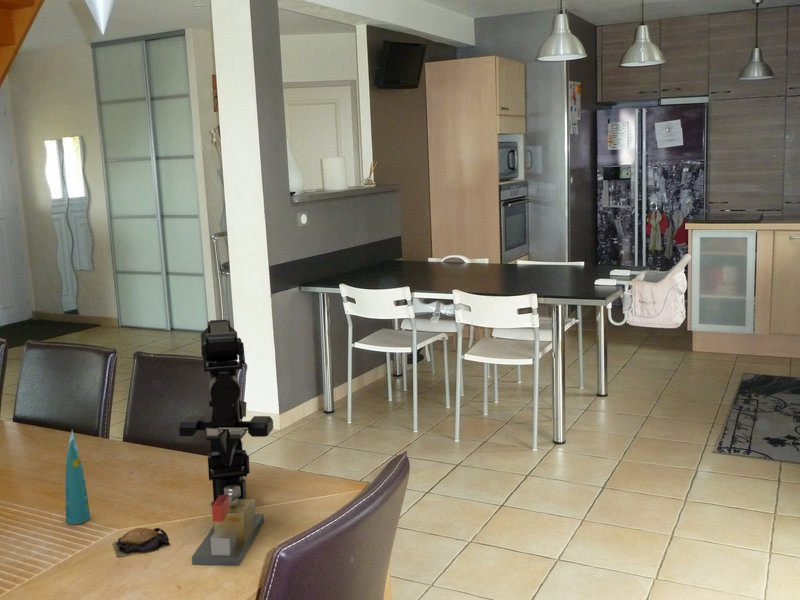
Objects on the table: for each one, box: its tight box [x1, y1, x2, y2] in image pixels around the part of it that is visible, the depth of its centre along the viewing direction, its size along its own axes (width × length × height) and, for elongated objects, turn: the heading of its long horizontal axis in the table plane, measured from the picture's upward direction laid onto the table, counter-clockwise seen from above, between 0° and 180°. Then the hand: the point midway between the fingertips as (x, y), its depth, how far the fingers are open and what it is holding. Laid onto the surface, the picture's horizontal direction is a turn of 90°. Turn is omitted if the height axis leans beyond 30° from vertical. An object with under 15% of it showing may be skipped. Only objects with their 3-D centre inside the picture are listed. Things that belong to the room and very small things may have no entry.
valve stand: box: [191, 498, 265, 566], centre depth 165 cm, size 9×20×9 cm, turn 175°
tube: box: [64, 429, 91, 525], centre depth 176 cm, size 7×5×19 cm, turn 26°
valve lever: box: [211, 485, 241, 523], centre depth 160 cm, size 12×3×3 cm, turn 176°
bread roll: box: [112, 527, 171, 558], centre depth 165 cm, size 11×8×4 cm
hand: (228, 465), depth 172 cm, fingers closed
